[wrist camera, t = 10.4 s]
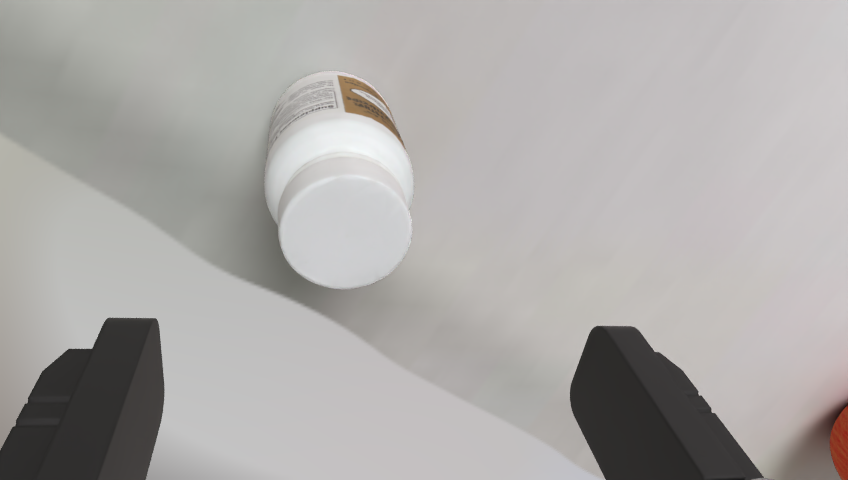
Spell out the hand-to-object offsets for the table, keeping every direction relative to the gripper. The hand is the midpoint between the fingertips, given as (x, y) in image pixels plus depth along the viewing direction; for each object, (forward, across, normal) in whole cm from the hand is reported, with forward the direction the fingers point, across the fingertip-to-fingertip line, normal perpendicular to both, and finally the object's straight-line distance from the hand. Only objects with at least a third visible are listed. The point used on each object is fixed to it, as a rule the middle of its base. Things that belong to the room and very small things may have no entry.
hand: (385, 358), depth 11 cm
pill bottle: (+13, 0, 0) cm, 13 cm away
